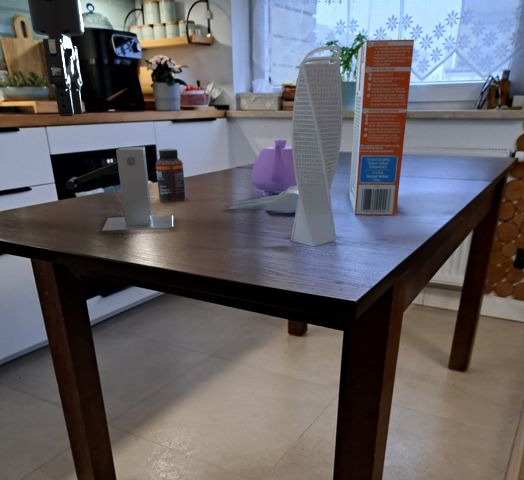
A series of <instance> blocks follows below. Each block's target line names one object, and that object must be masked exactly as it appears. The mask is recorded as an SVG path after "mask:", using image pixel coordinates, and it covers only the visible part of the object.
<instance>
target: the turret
mask: <svg viewBox="0 0 524 480" xmlns="http://www.w3.org/2000/svg"><path fill="white" fill-rule="evenodd" d="M298 199H299V194H298V189H297V186H291V187H289V188H287V189H286V190H284V191H283V192H280V193H278V194H272V195H269V196H266V195H265V196H260V197H258V198H251V199H244V200H237V201H235V202H233V203H232V205H231V206H229V207H228V210H262V211H263V210H264V211H265V213H266V214H283V213H284V214H291V213H294V214H296V209H297V204H298Z"/></svg>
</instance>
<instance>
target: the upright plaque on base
mask: <svg viewBox="0 0 524 480" xmlns="http://www.w3.org/2000/svg"><path fill="white" fill-rule="evenodd" d="M115 151H116V160H117V161H116V162H118V169H117V170H118V175H119V177H118V178H119V184H120V192H121V200H122V207H123V216H121V217H108V218H107V220H106V221H105V223H104V225H103V228H102V229H101V232H119V231H120V232H122V231H141V230H143V231H144V230H162V229H163V230H164V229H165V230H166V229H174V215H173V214H171V215H170V214H169V215H153V214H152V206H151V205H152V204H151V195H150V187H149V185H150V184H149V175H148V167H147V156H146V147H145V146H118V149H116V150H115Z"/></svg>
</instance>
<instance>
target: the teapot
mask: <svg viewBox="0 0 524 480" xmlns="http://www.w3.org/2000/svg"><path fill="white" fill-rule="evenodd" d="M274 144H275V146H265V147H263V148H262V149H261V151H260V152H259V154H258V156H257V157H256V159H255V161H254V163H253V166H252V171H251V175H250V181H251V183H252V184H253V185H254V187H255V188H256V189H257V190H259V191H263V193H262V196H265V197H266V196H273V195H274V194H273V193H274V192H275V193H276V192H278V193H279V192H280V193H281V192H283V191H284V190H286V189H287V188H289V187H291V186H297V184H296V178H295V171H294V164H293V154H292V145H291V146H290V145H289V146H287V145H286V144H287V140H286V139H274Z"/></svg>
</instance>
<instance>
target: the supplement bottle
mask: <svg viewBox="0 0 524 480" xmlns="http://www.w3.org/2000/svg"><path fill="white" fill-rule="evenodd" d="M158 156H159V158H158V160H156V162H155V170H156V171H155V172H156V180H157V189H158V198H159V203H181V202H183V203H185V202H186V201H187V195H186V194H187V193H186V184H185V183H186V182H185V171H184V162H183V160H181V159H179V153H178V149H177V148H162V149H159V150H158Z"/></svg>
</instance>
